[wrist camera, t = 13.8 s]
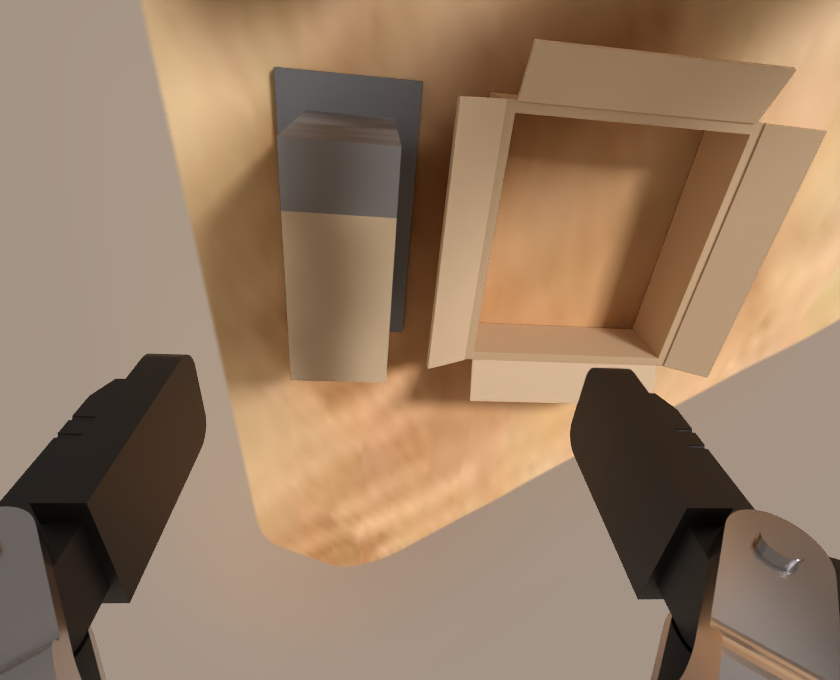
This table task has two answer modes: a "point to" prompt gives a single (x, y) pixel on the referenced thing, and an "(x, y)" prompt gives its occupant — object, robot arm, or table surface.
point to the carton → (687, 236)
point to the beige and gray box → (339, 242)
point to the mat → (367, 99)
